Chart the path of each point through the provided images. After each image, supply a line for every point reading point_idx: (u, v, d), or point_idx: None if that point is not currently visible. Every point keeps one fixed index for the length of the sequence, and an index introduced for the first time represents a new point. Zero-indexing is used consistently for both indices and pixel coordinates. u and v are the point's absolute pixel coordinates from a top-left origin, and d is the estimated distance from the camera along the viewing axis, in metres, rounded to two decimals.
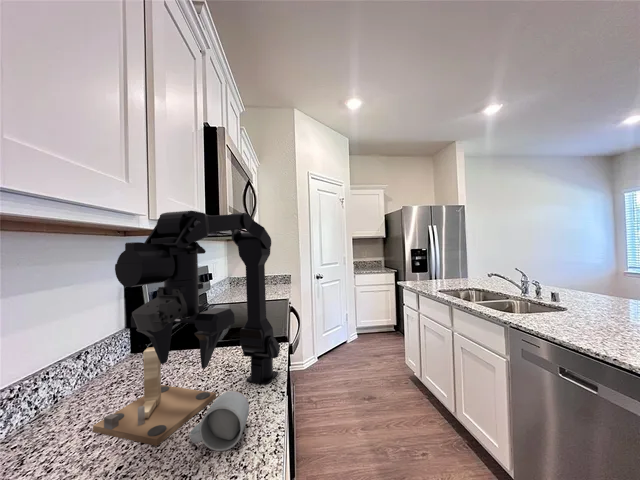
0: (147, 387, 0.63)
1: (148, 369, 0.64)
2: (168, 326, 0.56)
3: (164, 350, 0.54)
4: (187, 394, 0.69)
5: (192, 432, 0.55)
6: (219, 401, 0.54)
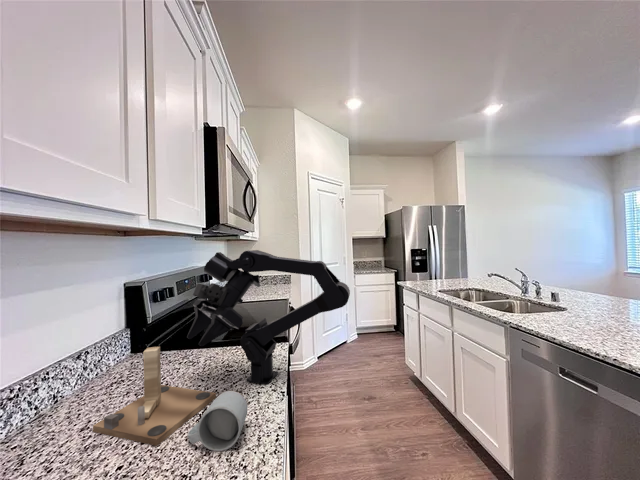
0: (147, 387, 0.63)
1: (148, 369, 0.64)
2: (209, 320, 0.78)
3: (195, 330, 0.75)
4: (187, 394, 0.69)
5: (190, 432, 0.55)
6: (217, 401, 0.54)
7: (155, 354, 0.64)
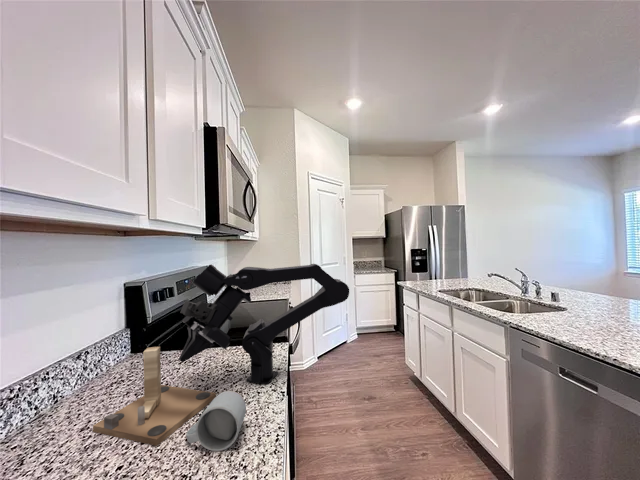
0: (147, 387, 0.63)
1: (148, 369, 0.64)
2: None
3: None
4: (187, 394, 0.69)
5: (189, 432, 0.55)
6: (216, 401, 0.54)
7: (155, 354, 0.64)
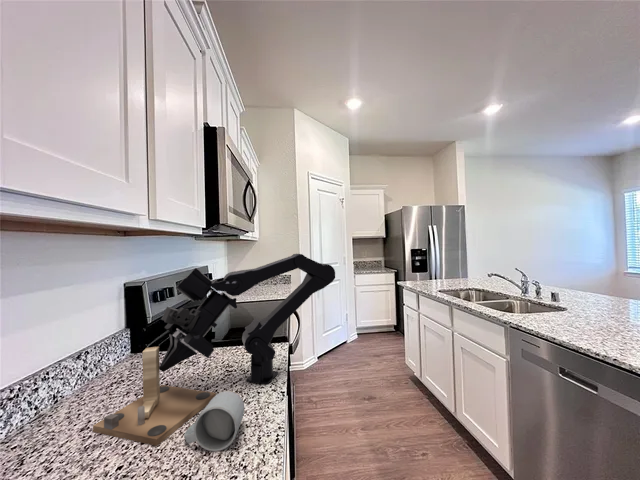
0: (147, 387, 0.63)
1: (147, 369, 0.64)
2: None
3: None
4: (187, 394, 0.69)
5: (187, 432, 0.55)
6: (214, 401, 0.54)
7: (154, 354, 0.64)
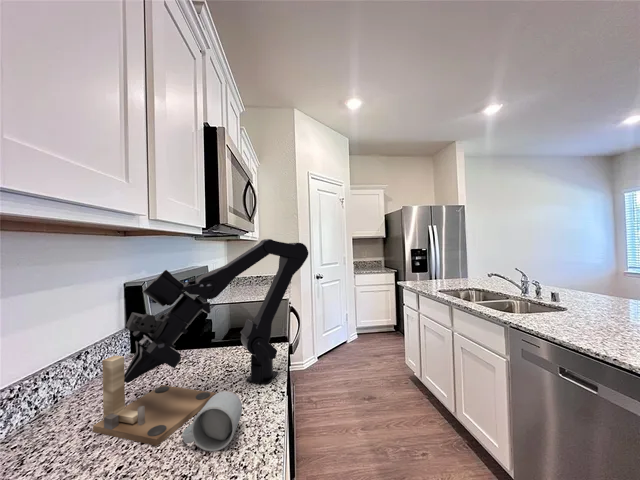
0: (116, 399, 0.59)
1: (117, 378, 0.59)
2: None
3: None
4: (187, 394, 0.69)
5: (185, 432, 0.55)
6: (211, 401, 0.54)
7: (123, 360, 0.61)
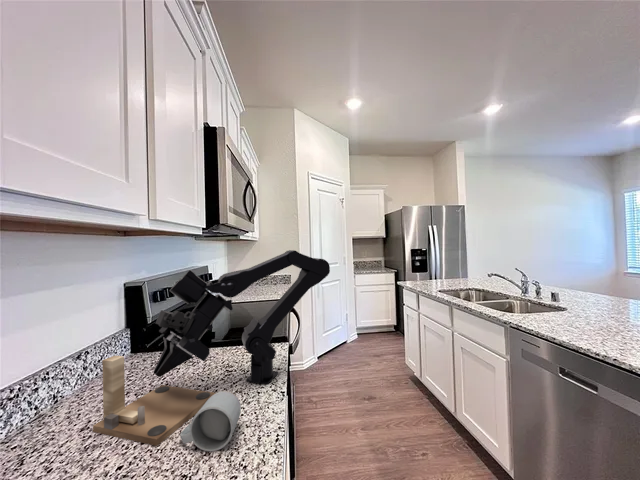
0: (116, 399, 0.59)
1: (117, 378, 0.59)
2: None
3: None
4: (187, 394, 0.69)
5: (183, 432, 0.55)
6: (210, 401, 0.54)
7: (123, 360, 0.61)
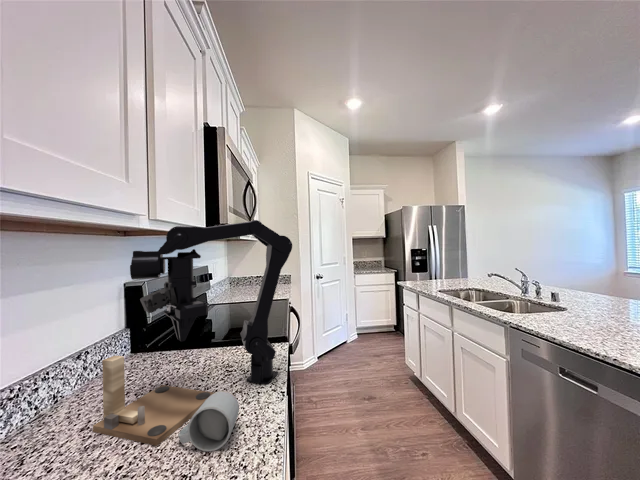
0: (116, 399, 0.59)
1: (117, 378, 0.59)
2: None
3: None
4: (187, 394, 0.69)
5: (181, 432, 0.55)
6: (208, 401, 0.54)
7: (123, 360, 0.61)
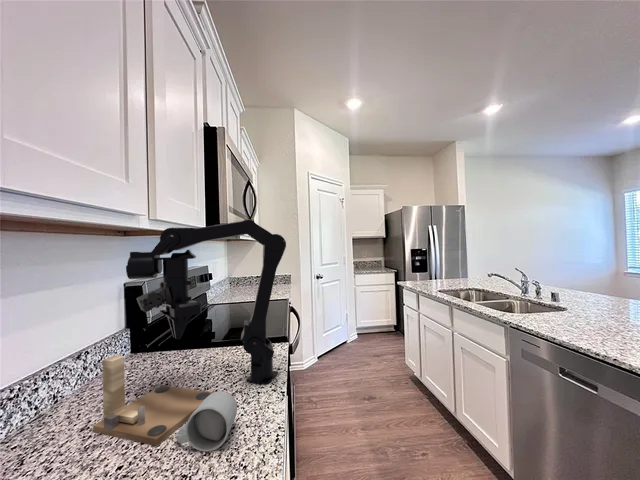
0: (116, 399, 0.59)
1: (117, 378, 0.59)
2: None
3: None
4: (187, 394, 0.69)
5: (179, 432, 0.55)
6: (206, 401, 0.54)
7: (123, 360, 0.61)
